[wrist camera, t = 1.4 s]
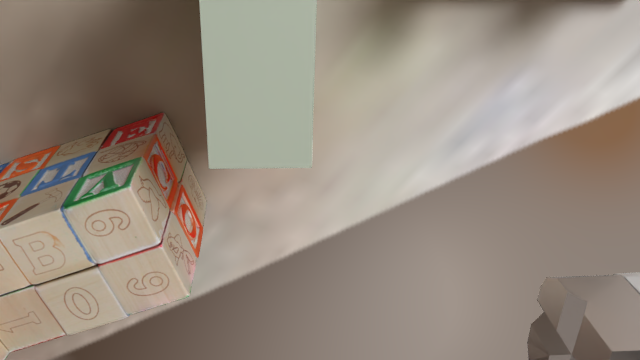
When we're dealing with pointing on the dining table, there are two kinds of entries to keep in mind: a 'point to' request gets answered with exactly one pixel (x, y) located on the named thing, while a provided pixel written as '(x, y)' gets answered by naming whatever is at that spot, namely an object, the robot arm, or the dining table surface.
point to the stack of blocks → (96, 232)
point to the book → (259, 82)
